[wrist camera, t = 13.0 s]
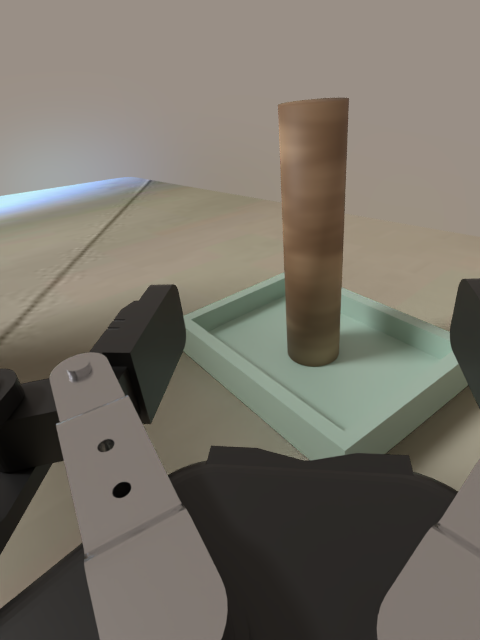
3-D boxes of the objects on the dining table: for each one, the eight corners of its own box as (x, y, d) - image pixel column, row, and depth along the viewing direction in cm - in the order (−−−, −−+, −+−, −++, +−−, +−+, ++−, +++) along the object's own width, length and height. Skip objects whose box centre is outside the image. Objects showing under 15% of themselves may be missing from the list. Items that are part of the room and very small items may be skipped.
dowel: (277, 350, 27) (264, 105, 20) (313, 331, 28) (313, 98, 21) (312, 373, 24) (312, 105, 17) (350, 351, 26) (364, 97, 19)
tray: (181, 349, 30) (174, 319, 28) (295, 295, 35) (294, 267, 34) (342, 488, 19) (344, 451, 18) (473, 380, 24) (482, 345, 23)
